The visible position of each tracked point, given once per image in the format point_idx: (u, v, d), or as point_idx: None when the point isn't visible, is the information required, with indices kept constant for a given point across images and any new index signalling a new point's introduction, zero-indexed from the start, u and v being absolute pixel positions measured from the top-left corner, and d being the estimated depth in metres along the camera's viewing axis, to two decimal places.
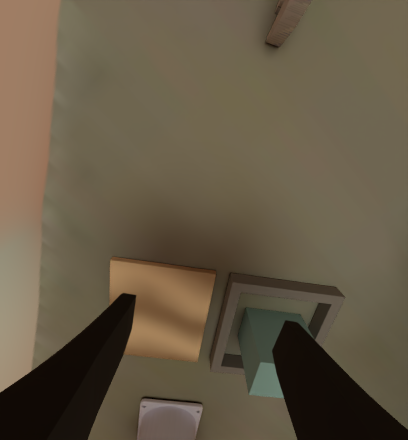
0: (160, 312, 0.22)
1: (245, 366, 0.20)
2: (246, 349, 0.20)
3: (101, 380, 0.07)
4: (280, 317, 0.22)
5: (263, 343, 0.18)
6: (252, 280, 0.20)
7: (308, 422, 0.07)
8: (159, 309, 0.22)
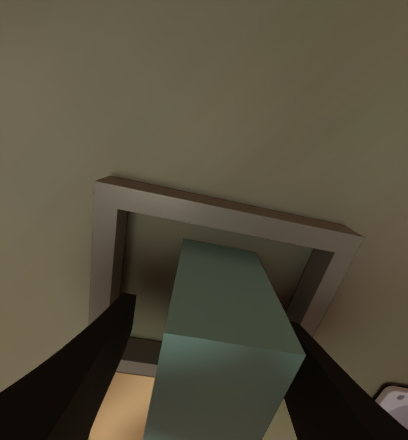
0: None
1: None
2: None
3: (101, 380, 0.07)
4: None
5: None
6: None
7: (308, 422, 0.07)
8: None
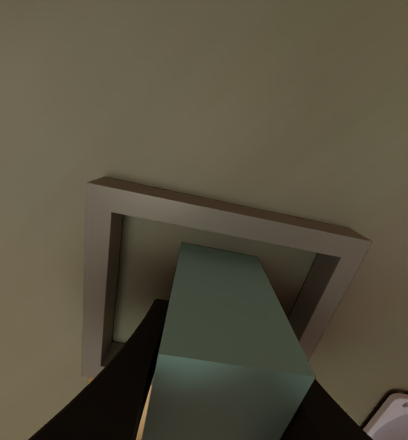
0: None
1: None
2: None
3: (147, 386, 0.07)
4: None
5: None
6: None
7: None
8: None
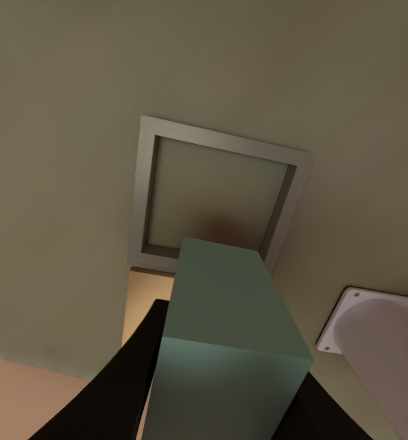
0: None
1: None
2: None
3: (147, 386, 0.07)
4: None
5: None
6: None
7: None
8: None
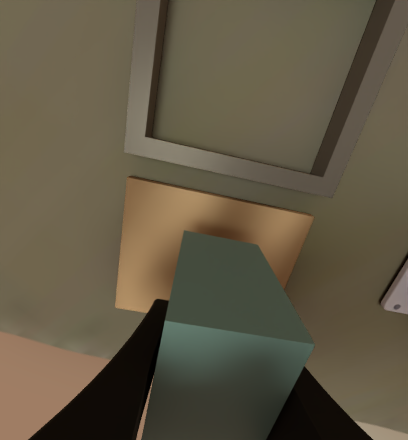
0: None
1: None
2: None
3: (147, 386, 0.07)
4: None
5: None
6: None
7: None
8: None
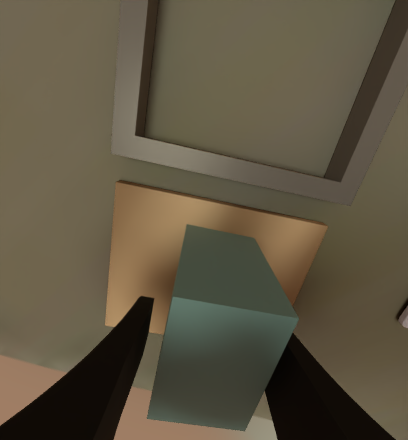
0: None
1: None
2: None
3: (126, 383, 0.07)
4: (177, 269, 0.12)
5: None
6: None
7: (287, 419, 0.07)
8: None
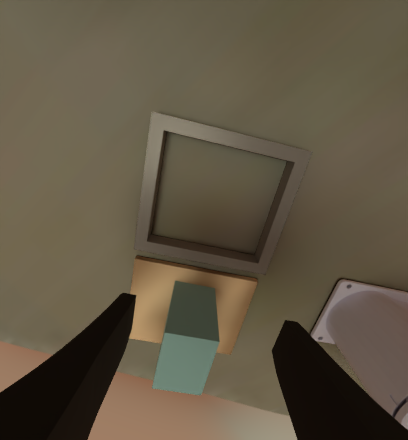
0: None
1: None
2: None
3: (101, 380, 0.07)
4: None
5: None
6: None
7: (308, 422, 0.07)
8: None
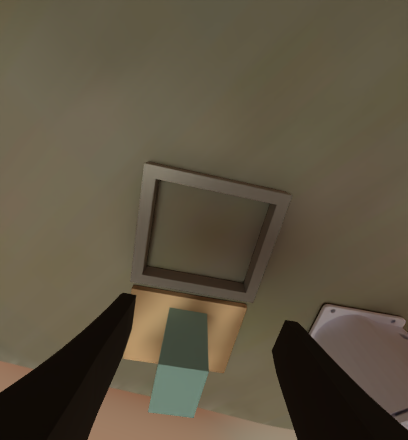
0: None
1: None
2: None
3: (101, 380, 0.07)
4: None
5: None
6: None
7: (308, 422, 0.07)
8: None
